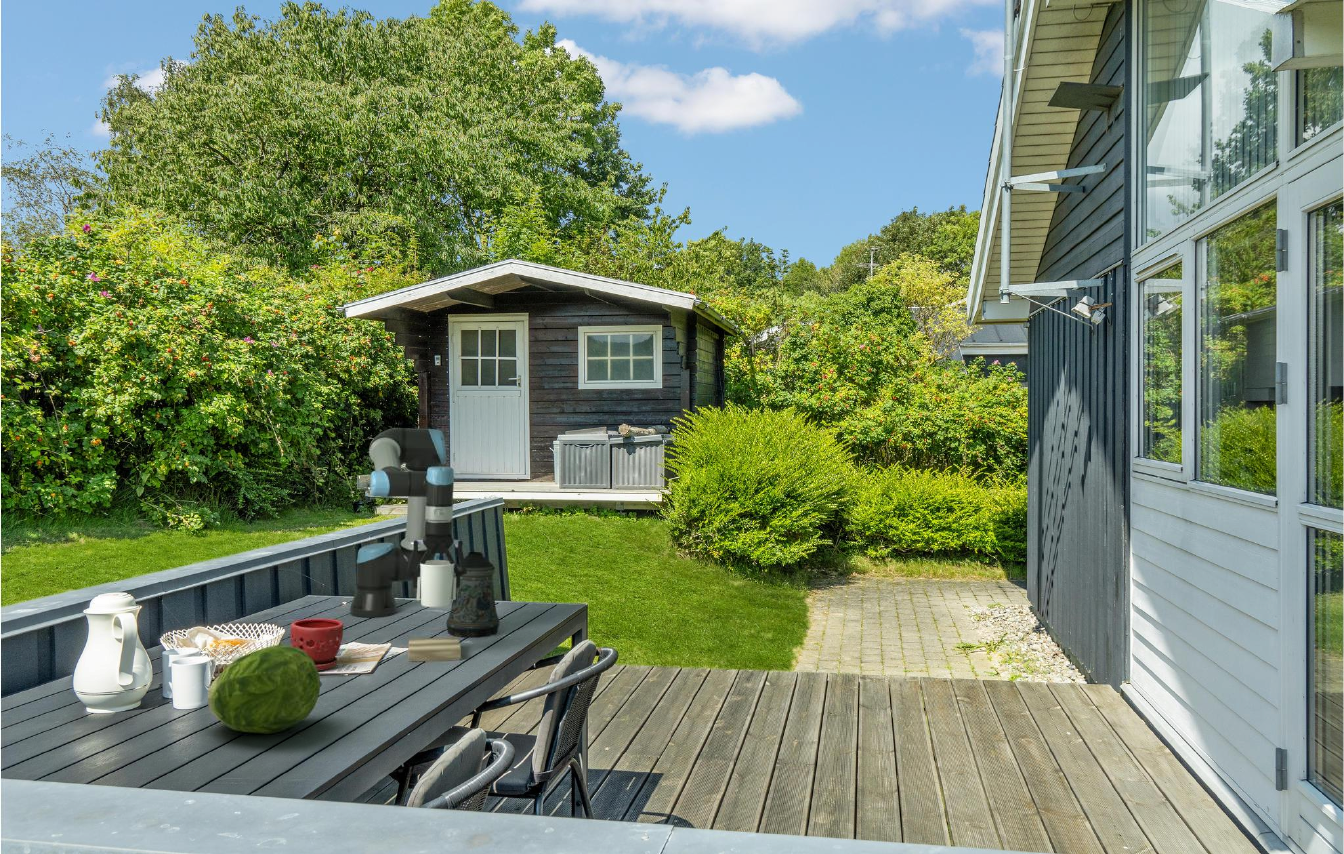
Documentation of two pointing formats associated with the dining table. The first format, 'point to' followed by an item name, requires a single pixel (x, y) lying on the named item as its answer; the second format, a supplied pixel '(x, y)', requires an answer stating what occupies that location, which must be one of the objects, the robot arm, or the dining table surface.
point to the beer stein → (474, 600)
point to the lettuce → (266, 690)
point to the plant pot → (318, 640)
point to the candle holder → (436, 583)
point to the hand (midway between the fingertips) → (436, 598)
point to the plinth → (434, 649)
